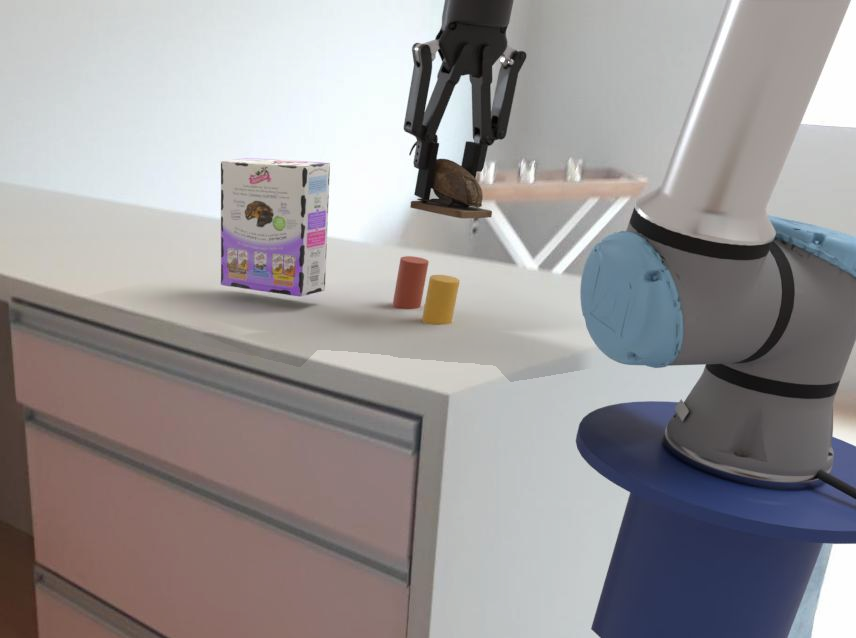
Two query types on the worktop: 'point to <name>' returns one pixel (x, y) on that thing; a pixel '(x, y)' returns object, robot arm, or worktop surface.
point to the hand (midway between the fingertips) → (442, 197)
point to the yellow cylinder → (440, 299)
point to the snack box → (274, 225)
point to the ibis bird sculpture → (453, 192)
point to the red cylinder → (410, 282)
